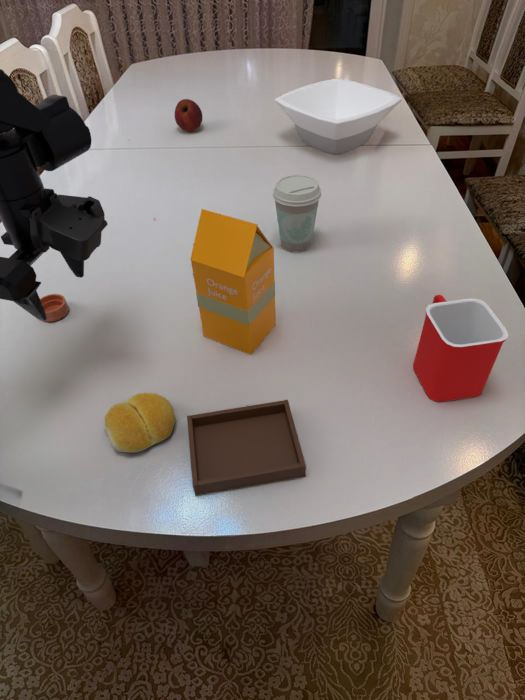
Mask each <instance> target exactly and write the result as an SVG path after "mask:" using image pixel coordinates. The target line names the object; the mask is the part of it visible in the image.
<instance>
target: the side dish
mask: <svg viewBox="0 0 525 700" xmlns="http://www.w3.org/2000/svg"><path fill="white" fill-rule="evenodd" d="M40 300H41V303H42V305H43V307H44V310H45V313H46V317H47V319H46V320H45V321H44V322H49V323H50V322H51V323H52V322H57V321H59V320H61V319H63V318H65V317H66V315H67V314H68V312H69V309H70V308H69V304H68V302H67V300H66V298H65V296H64V295H63V294H59V293H52V294H50V293H49V294H47V295H44V296H42V297H41V298H40Z"/></svg>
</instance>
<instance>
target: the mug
mask: <svg viewBox="0 0 525 700" xmlns="http://www.w3.org/2000/svg"><path fill="white" fill-rule="evenodd" d="M507 329H508V328H506V327H505V325H504V324H503V322H501V320H500V318H498V316H497V314H495V312H494V311H493V310H492V308H491V307H490V305H489V304H488V303H487V302H485V301H484V300H482V299H479V298H473V297H472V298H471V297H470V298H462V299H454V300H448V301H447V300H446V299H445V297H444V296H443V295H442V294H435V295H434V296H433V299H432V303H430V304H427V306H426V307H425V317H424V321H423V325H422V330H421V333H420V337H419V341H418V345H417V349H416V353H415V355H414V360H413V364H412V366H413V371H414V373H415V375H416V377H417V379H418V381H419V382H420V385H421V386H422V388H423V391H424V393H425V394H426V395H427V397H428V398H429V399H430V400H432V401H435V402H448V401H455V400H461V399H462V400H463V399H468V398H475V397H478V396H480V395H482V393H483V391H484V389H485V386H486V384H487V383H488V379H489V377H490V375H491V372H492V370H493V368H494V365H495V363H496V361H497V358H498V356H499V353H500V352H501V349H502V346H503V344H504V343H505V342H506V341H507V339H508V337H510V336H509V332H508V330H507Z"/></svg>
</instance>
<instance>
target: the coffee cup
mask: <svg viewBox="0 0 525 700" xmlns="http://www.w3.org/2000/svg"><path fill="white" fill-rule="evenodd" d="M321 197H322V189H321V187H320V184H319V181H318V180H317V179H316V178H314V177H313V176H310V175H307V174H289V175H285V176H282V177H280V178H279V179H278V180H277V181H276V182H275V185H274V188H273V190H272V198H273V199H274V205H275V211H276V218H277V225H278V232H279V233H278V234H279V238H280V245H281V247H282V248H283V249H284V250H286V251H289V252H295V253H297V252H304V251H306V250H309V248H311V246H312V242H313V237H314V232H315V225H316V220H317V215H318V214H317V213H318V208H319V201H320V199H321Z"/></svg>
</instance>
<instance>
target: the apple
mask: <svg viewBox="0 0 525 700" xmlns="http://www.w3.org/2000/svg"><path fill="white" fill-rule="evenodd" d="M174 121H175V124H176V125H177V126H178V127H179V128H180V129H181V130H182V131H185V132H187V133H188V132H189V133H190V132H194V131H196V130H198V129H199V128H200V127H201V125H202V123H203V112H202V109H201V108H200V106H199V105H198V103H196V102H195V101H193V100H192V99H189V98H183V99H180V100H179V101H178V102H177V104H176V106H175V109H174Z"/></svg>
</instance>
